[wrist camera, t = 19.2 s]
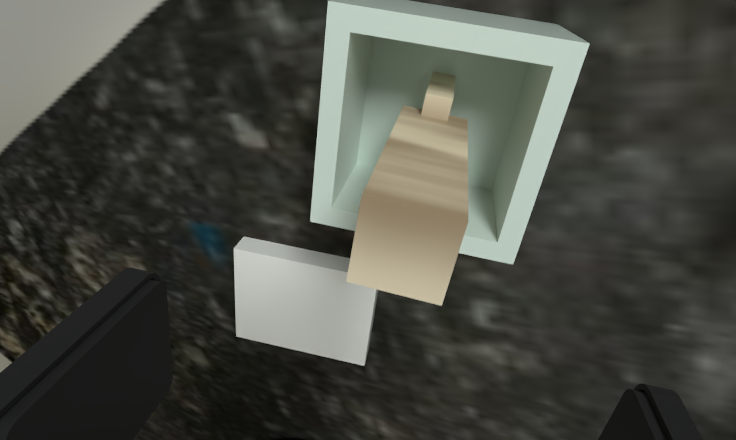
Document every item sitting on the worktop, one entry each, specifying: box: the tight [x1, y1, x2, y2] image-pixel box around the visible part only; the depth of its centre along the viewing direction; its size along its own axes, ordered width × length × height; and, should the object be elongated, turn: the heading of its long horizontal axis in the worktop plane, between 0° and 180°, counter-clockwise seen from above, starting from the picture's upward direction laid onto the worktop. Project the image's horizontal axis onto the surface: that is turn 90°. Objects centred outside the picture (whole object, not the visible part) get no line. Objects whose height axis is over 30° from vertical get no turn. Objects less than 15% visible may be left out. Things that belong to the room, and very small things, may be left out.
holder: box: [310, 0, 590, 264], centre depth 23 cm, size 10×10×7 cm
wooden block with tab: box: [346, 71, 468, 306], centre depth 20 cm, size 5×3×14 cm, turn 171°
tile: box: [234, 237, 378, 366], centre depth 34 cm, size 8×2×10 cm
